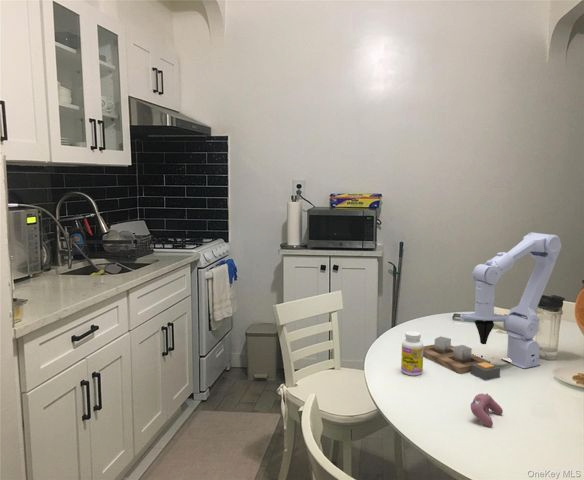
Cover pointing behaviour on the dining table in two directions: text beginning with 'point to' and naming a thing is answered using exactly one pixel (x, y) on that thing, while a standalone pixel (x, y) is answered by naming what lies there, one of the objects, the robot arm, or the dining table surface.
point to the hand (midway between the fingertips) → (483, 343)
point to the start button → (485, 365)
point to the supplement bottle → (412, 354)
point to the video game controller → (485, 408)
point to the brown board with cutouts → (450, 360)
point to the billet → (462, 354)
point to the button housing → (485, 372)
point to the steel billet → (442, 345)
